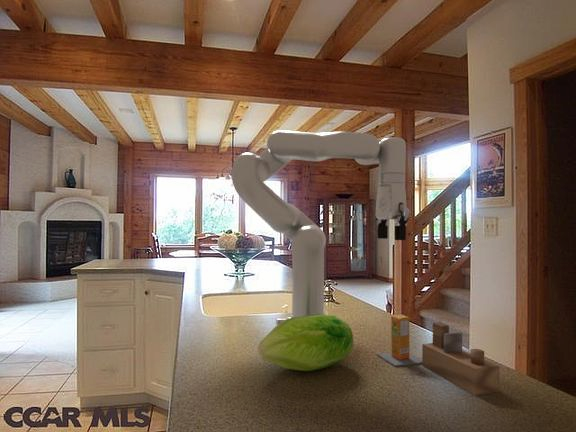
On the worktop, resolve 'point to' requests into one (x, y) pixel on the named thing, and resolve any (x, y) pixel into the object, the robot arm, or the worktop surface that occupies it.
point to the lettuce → (307, 342)
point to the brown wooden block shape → (459, 362)
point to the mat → (398, 363)
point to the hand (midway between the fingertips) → (390, 239)
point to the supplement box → (400, 337)
